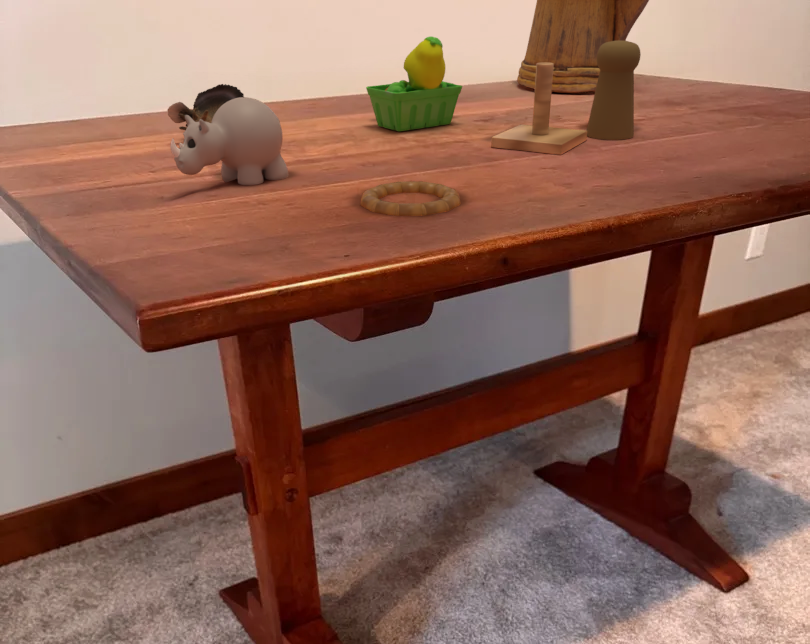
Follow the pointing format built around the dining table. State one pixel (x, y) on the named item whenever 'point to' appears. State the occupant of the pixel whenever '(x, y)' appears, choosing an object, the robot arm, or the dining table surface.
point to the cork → (614, 92)
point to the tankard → (575, 39)
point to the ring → (376, 205)
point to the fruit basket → (417, 92)
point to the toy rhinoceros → (235, 143)
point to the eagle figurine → (204, 104)
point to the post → (540, 123)
